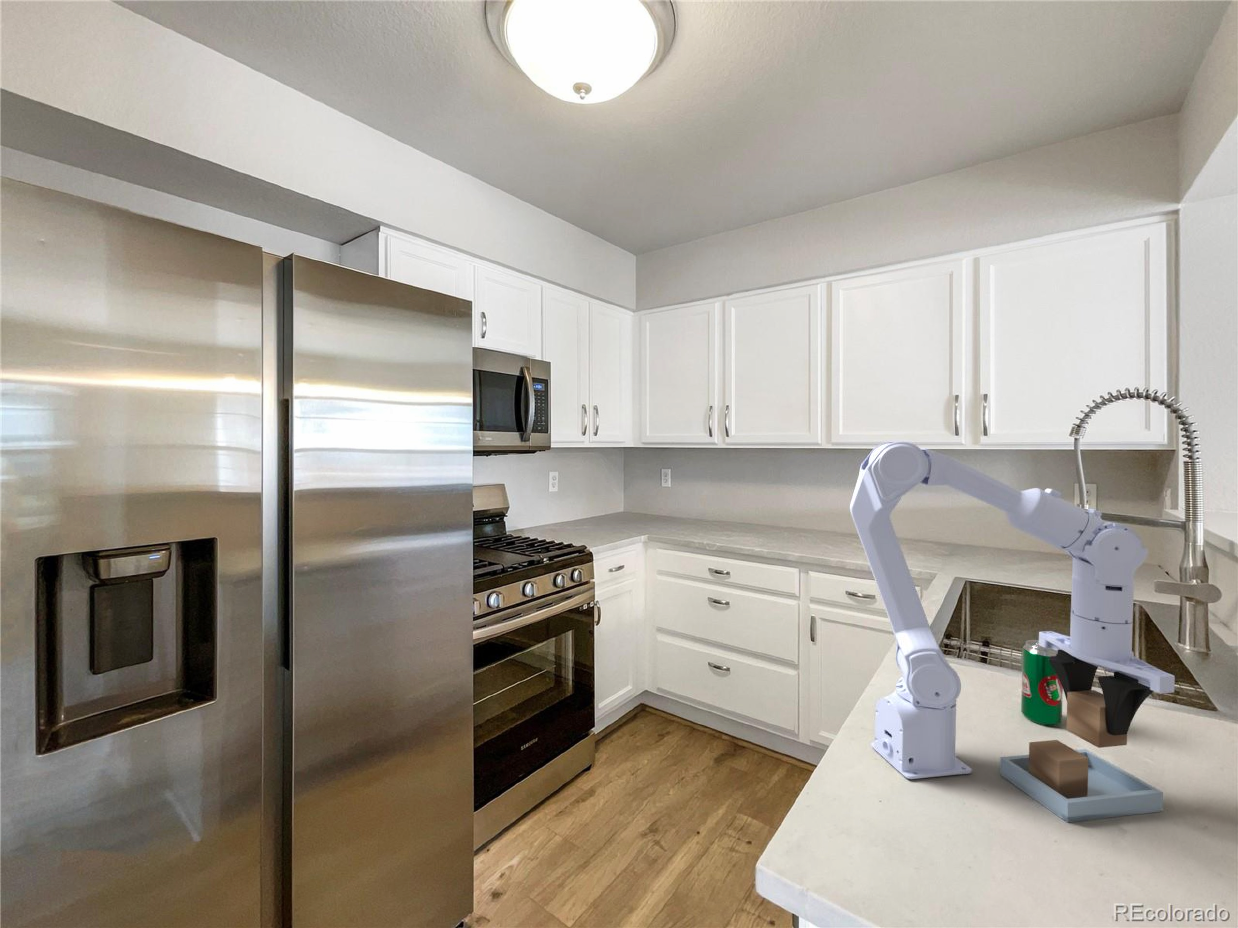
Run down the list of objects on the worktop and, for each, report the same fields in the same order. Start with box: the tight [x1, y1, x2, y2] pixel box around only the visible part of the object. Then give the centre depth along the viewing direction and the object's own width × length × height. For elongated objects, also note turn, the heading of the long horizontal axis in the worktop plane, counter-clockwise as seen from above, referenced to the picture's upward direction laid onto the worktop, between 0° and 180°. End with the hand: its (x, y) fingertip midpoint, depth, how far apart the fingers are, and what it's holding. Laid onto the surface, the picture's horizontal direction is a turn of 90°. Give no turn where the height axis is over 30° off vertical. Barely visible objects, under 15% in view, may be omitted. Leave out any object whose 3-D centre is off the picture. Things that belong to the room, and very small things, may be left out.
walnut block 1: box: [1028, 739, 1089, 799], centre depth 66 cm, size 4×4×5 cm
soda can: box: [1020, 639, 1064, 727], centre depth 84 cm, size 5×5×12 cm
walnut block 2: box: [1065, 689, 1128, 749], centre depth 66 cm, size 4×4×5 cm
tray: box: [999, 748, 1164, 823], centre depth 66 cm, size 13×9×2 cm
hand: (1097, 723), depth 66 cm, fingers closed on walnut block 2, 4 cm apart
